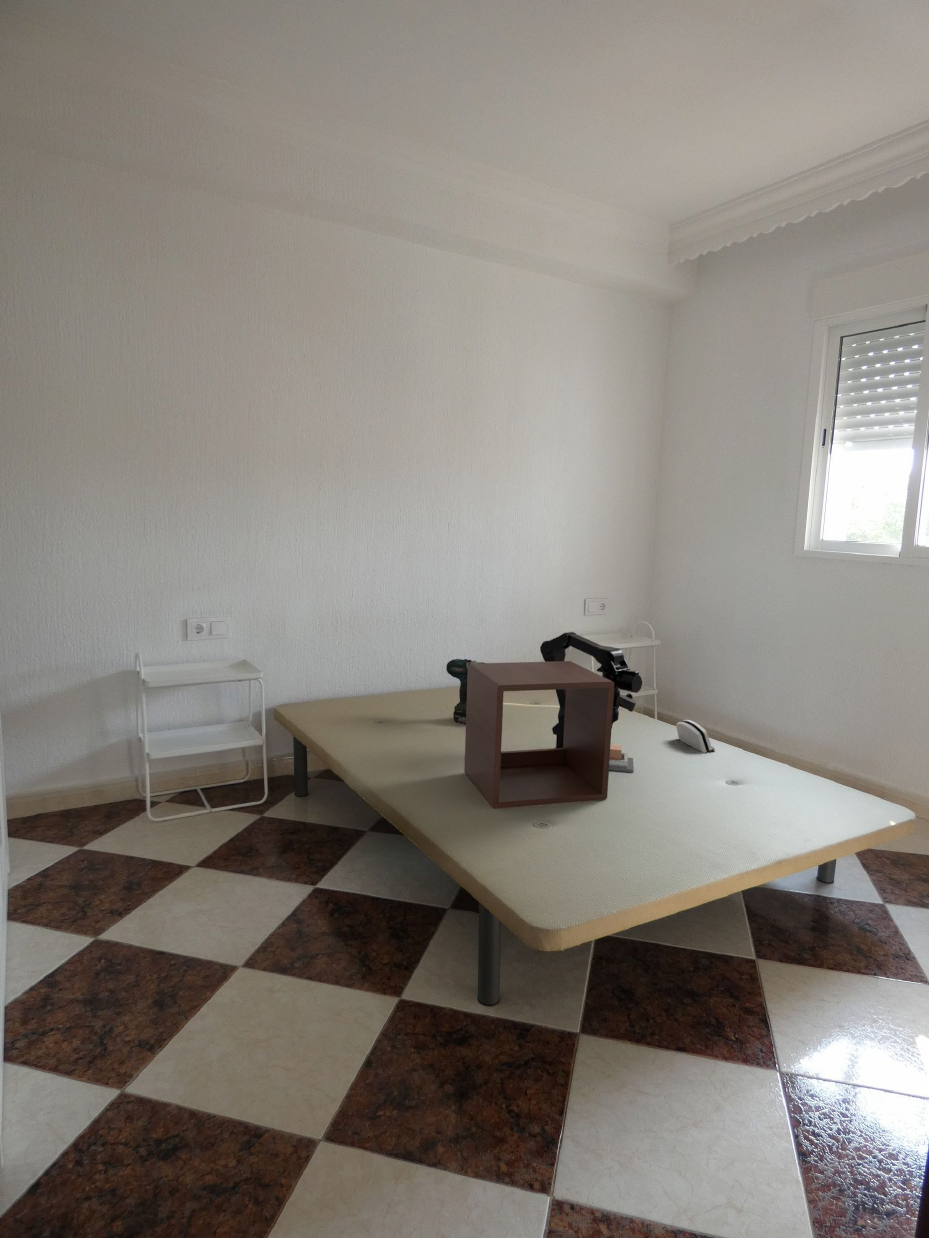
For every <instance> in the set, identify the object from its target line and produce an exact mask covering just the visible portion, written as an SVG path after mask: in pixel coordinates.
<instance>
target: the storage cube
mask: <svg viewBox="0 0 929 1238" xmlns="http://www.w3.org/2000/svg"><path fill="white" fill-rule="evenodd" d="M557 689H566V702H565V721H564V739H563V748H556V747H555V748H536V749H523V750H522V749H521V750H506V751H504V750H502V743H503V741H502V739H503V712H504V693H505V692H523V691H528V692H529V691H551V690H553V691H554V690H555V691H556V690H557ZM613 697H614V682H612V681H610V680H608V679H606V678H604V677H602V675H601V674H600V675H599V674H597V672H594V671H591V670H589V669H588V668H586V667H584V666H581V665H579V664H577V663H576V662H573V661H571V660H564V661H554V662H545V661H525V662H524V661H523V662H516V661H515V662H483V663H474V664H469V665H468V678H467V708H466V724H465V740H464V741H465V742H464V767H463V768H464V770H463V771H464V773H465V774H466V776H467V777H468V778H469V779H470V781H471V782H472V783H473V784H474V785H475V787H476V788H477V789H478V790H479V791H480V793H481V794H482V795H483V796H484V798H485V799H486V800H487V802H488V803H489V804H490V806H492V807H493V809H496V810H497V809H505V808H518V807H531V806H542V805H543V806H544V805H556V804H558V805H559V804H566V803H567V804H569V803H581V802H592V801H605V800H607V799H608V794H609V793H608V790H609V775H610V774H609V773H610V770H609V761H610V745H612V744H611V742H612V741H611V740H612V729H613V725H612V713H613Z"/></svg>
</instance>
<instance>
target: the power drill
mask: <svg viewBox="0 0 929 1238" xmlns="http://www.w3.org/2000/svg"><path fill="white" fill-rule="evenodd" d="M474 663H484V662H483V661H476V660H471V659H467V658H465V659H461V658H455V659H451V660H449V661H448V662H447V664H446V667H445V669H446V672H447V674H449V675H450V676H451V677H453V678H455V679H458V680H459V682H460V685H459V691H458V692H459V702H458V703H457V704H456V705H455V706H454V709H453V714H452V715H453V721H454V722H456V723H458V722H460V723H459V724H462V723H464V724H463V725H466V708H467V678H468V665H469V664H474ZM448 708H449V707H448V706H447V709H448Z"/></svg>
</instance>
